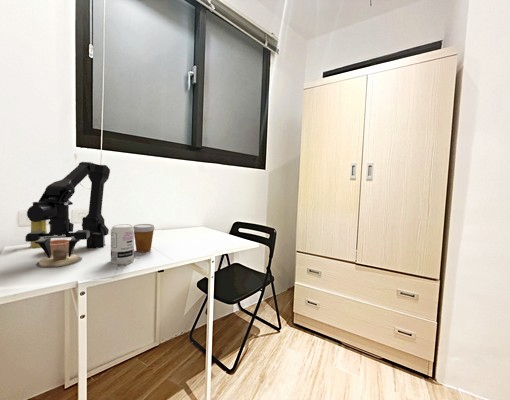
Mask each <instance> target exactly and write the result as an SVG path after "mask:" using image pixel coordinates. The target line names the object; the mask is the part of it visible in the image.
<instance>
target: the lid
mask: <svg viewBox="0 0 510 400" xmlns="http://www.w3.org/2000/svg"><path fill="white" fill-rule="evenodd" d="M79 257H80V256H79V255H78V254H73V253H72V255H71V257H69V253H66V249H56V250H53V255H51V257H50V258H48V256H47V257H43V258H41V259H40V260H39V261H38V262H39V265H40V266H43V267H57V268H59V267H58V266H64V265H69V264H72V263H75V262H77V261H78V260H79ZM72 265H73V264H72ZM69 266H70V265H69ZM64 267H65V266H64Z"/></svg>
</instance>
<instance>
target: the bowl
mask: <svg viewBox="0 0 510 400" xmlns="http://www.w3.org/2000/svg"><path fill="white" fill-rule="evenodd" d="M70 240H71V239H68V238H67V239H65V238H64V239H61V238H60V239H52V240H51V241H50V247H51V256H53V250H56V249H66V254H69V241H70ZM43 253H44V255H46V253H45V252H44V251H43Z"/></svg>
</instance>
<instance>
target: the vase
mask: <svg viewBox="0 0 510 400" xmlns="http://www.w3.org/2000/svg"><path fill="white" fill-rule="evenodd" d="M47 230H48V229H47V220H44V221H39V222H33V221H31V220H30V232H33V231H45V233H48V231H47ZM35 242H36V241H31V242H30V247H29V248H30V249H42V248H41V247H40V245H39V244H36V243H35Z"/></svg>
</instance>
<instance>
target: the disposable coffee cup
mask: <svg viewBox="0 0 510 400" xmlns="http://www.w3.org/2000/svg"><path fill="white" fill-rule="evenodd" d="M133 228H134V246H135V250H136V252H137V253H147V252H150V251H152V244H153V236H154V230H156V228H155V226H154V224H152V223H140V224H139V223H138V224H134V225H133Z"/></svg>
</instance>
